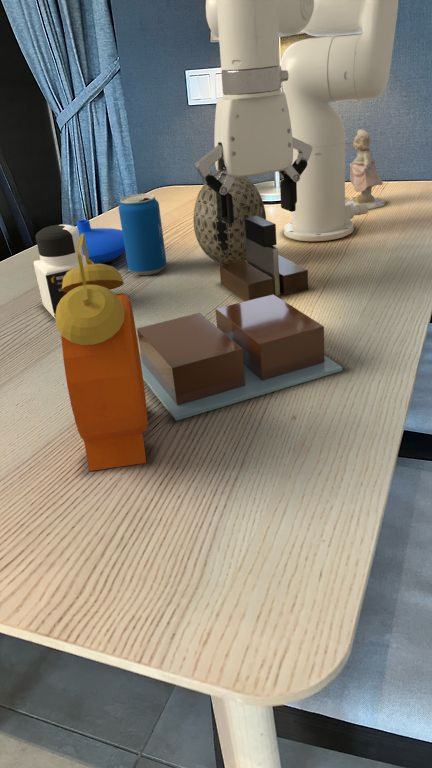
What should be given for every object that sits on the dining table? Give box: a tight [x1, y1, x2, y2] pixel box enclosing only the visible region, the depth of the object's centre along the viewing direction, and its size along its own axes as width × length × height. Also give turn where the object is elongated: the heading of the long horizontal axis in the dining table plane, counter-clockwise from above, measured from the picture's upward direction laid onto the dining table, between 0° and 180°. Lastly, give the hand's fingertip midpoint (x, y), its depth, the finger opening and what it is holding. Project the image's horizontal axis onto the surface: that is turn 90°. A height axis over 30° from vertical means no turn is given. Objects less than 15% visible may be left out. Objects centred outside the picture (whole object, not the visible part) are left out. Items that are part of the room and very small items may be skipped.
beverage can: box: [118, 193, 168, 276], centre depth 109 cm, size 6×6×12 cm
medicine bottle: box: [33, 224, 94, 319], centre depth 97 cm, size 7×7×12 cm
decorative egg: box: [193, 171, 267, 265], centre depth 108 cm, size 12×12×15 cm
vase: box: [76, 219, 126, 264], centre depth 118 cm, size 16×16×7 cm
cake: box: [136, 295, 343, 422], centre depth 77 cm, size 20×16×5 cm
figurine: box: [345, 128, 386, 210], centre depth 135 cm, size 11×10×15 cm
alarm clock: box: [54, 234, 148, 472], centre depth 62 cm, size 13×6×20 cm, turn 7°
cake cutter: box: [245, 216, 281, 297], centre depth 98 cm, size 2×9×10 cm, turn 23°
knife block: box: [219, 254, 309, 302], centre depth 100 cm, size 10×10×3 cm
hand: (258, 215), depth 95 cm, fingers open, 9 cm apart
